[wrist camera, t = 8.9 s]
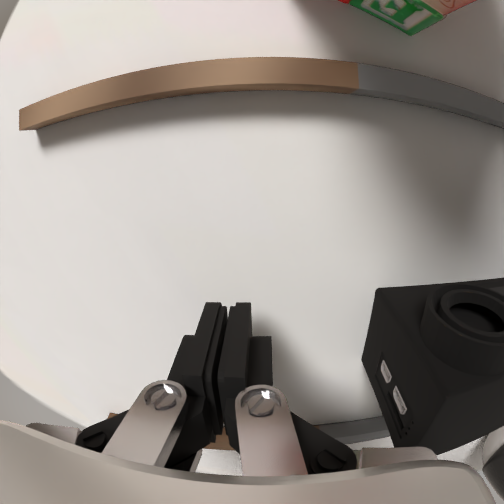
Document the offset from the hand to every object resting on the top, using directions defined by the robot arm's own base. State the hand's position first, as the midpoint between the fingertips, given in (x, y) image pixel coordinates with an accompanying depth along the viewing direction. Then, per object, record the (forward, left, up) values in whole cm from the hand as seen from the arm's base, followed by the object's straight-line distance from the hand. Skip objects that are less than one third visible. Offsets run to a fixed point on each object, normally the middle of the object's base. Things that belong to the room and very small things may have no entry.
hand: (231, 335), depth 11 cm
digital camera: (-11, +1, -2) cm, 12 cm away
